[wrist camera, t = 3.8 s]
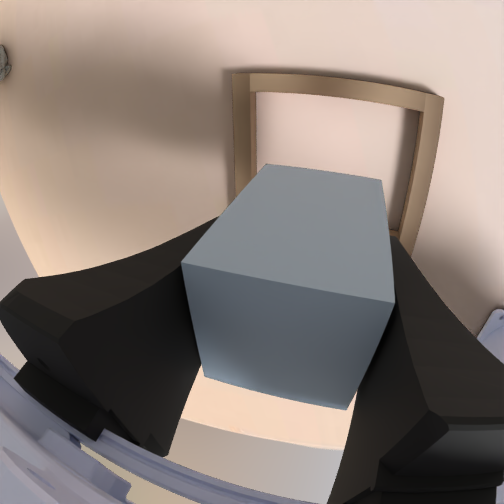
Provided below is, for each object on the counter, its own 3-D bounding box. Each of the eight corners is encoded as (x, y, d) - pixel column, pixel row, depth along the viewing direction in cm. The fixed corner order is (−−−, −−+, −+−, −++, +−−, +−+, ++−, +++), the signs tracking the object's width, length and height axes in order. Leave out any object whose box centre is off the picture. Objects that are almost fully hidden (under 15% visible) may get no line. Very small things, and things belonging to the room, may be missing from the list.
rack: (439, 95, 12) (444, 97, 12) (352, 393, 28) (351, 401, 27) (238, 73, 15) (231, 74, 14) (248, 371, 31) (244, 378, 30)
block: (381, 180, 10) (395, 303, 5) (361, 274, 12) (346, 410, 7) (266, 163, 11) (180, 261, 6) (264, 257, 13) (204, 376, 8)
